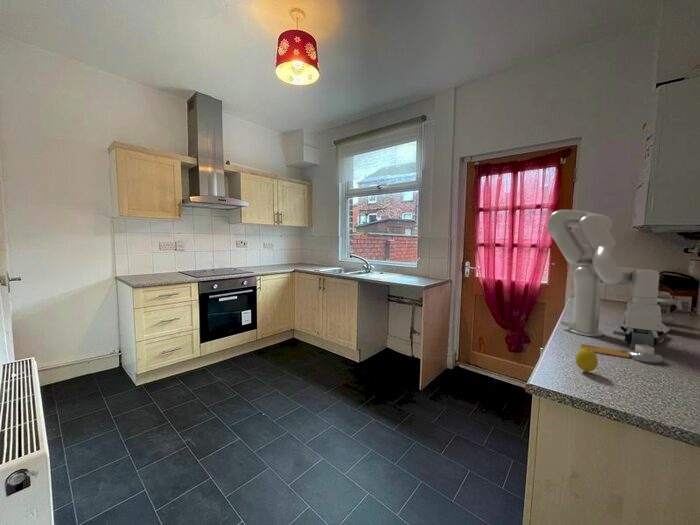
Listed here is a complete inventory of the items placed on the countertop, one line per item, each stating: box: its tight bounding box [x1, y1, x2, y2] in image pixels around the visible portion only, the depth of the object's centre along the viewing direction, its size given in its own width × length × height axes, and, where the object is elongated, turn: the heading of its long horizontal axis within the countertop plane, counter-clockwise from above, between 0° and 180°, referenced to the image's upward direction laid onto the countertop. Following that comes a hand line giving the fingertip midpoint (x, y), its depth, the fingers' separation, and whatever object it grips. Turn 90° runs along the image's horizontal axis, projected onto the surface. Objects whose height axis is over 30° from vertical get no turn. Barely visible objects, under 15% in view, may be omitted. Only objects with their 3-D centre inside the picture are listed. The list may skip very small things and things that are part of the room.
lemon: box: [575, 348, 599, 373], centre depth 95 cm, size 6×6×8 cm
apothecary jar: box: [657, 290, 676, 329], centre depth 142 cm, size 12×12×18 cm
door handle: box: [613, 330, 670, 346], centre depth 130 cm, size 3×20×16 cm
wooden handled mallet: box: [579, 343, 663, 365], centre depth 110 cm, size 22×9×5 cm, turn 57°
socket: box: [626, 329, 655, 349], centre depth 117 cm, size 6×6×8 cm
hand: (639, 344), depth 117 cm, fingers closed on socket, 6 cm apart
